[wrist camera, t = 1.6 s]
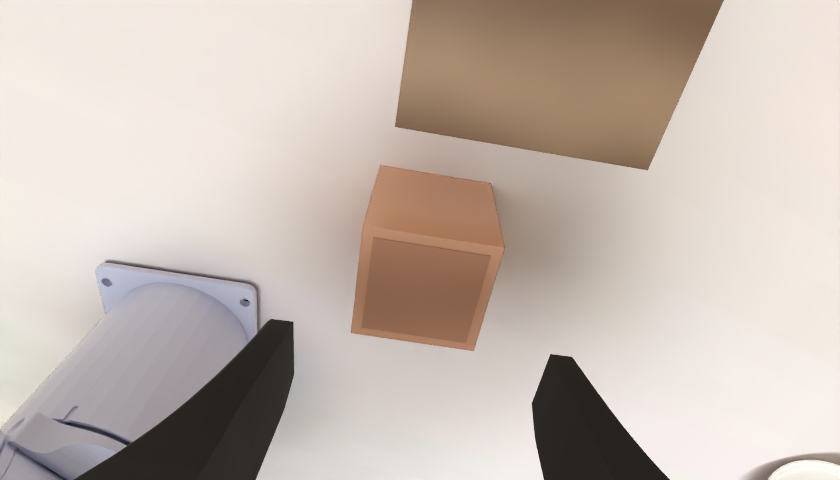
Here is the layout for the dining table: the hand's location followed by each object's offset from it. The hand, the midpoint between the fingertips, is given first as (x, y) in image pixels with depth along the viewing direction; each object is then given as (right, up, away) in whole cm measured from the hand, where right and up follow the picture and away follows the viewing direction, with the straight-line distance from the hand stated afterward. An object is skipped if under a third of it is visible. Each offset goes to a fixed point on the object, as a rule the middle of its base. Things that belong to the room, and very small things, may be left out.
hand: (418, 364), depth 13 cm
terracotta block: (0, +4, +9) cm, 10 cm away
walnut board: (+5, +12, +5) cm, 14 cm away
